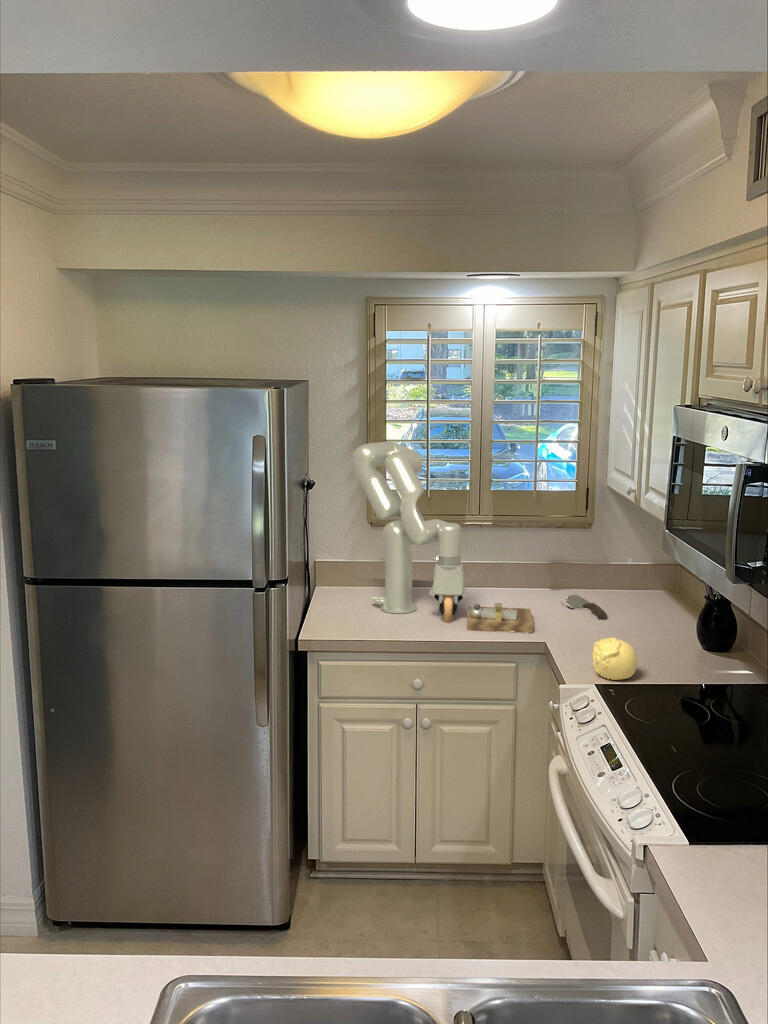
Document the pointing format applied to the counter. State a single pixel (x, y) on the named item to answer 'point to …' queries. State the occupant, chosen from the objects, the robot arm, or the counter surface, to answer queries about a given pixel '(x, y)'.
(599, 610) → the cleaver
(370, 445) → the robot arm
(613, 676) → the sculpture
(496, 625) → the base plate
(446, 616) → the lock pin
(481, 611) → the latch bar
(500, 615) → the keeper
